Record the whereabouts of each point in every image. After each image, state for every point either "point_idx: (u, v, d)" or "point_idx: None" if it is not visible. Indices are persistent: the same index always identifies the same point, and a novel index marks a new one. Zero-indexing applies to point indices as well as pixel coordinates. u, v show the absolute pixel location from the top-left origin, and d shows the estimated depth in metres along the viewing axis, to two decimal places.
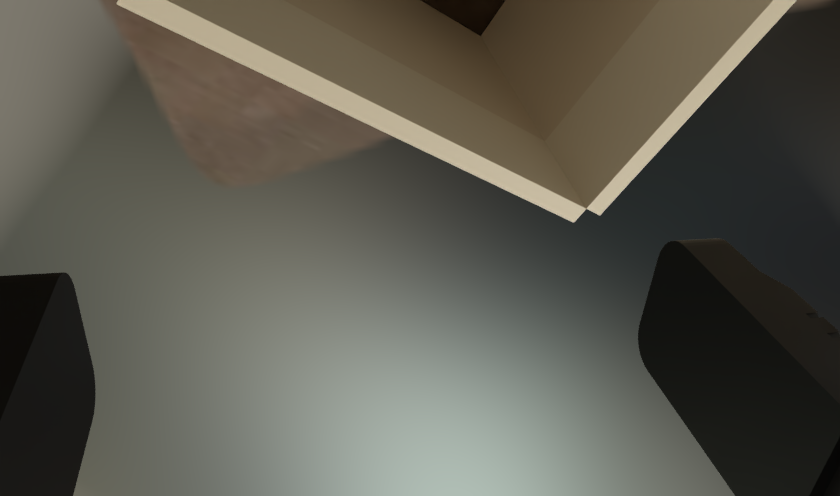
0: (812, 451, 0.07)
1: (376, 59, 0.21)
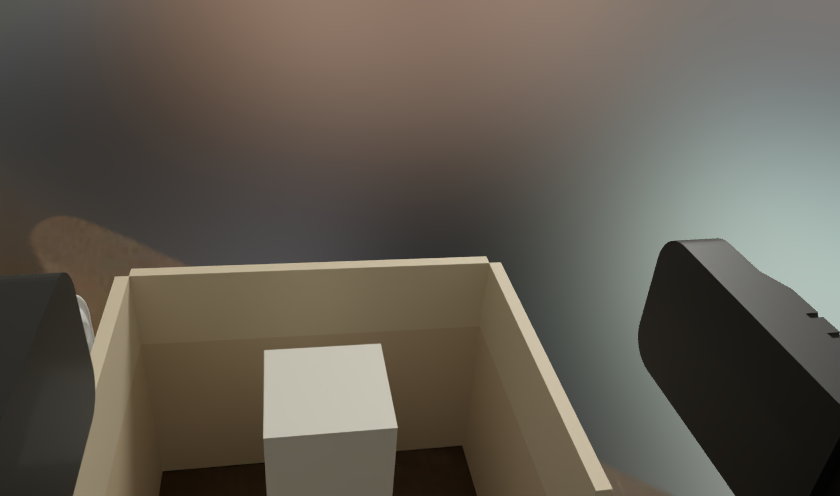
0: (812, 451, 0.07)
1: (521, 412, 0.31)
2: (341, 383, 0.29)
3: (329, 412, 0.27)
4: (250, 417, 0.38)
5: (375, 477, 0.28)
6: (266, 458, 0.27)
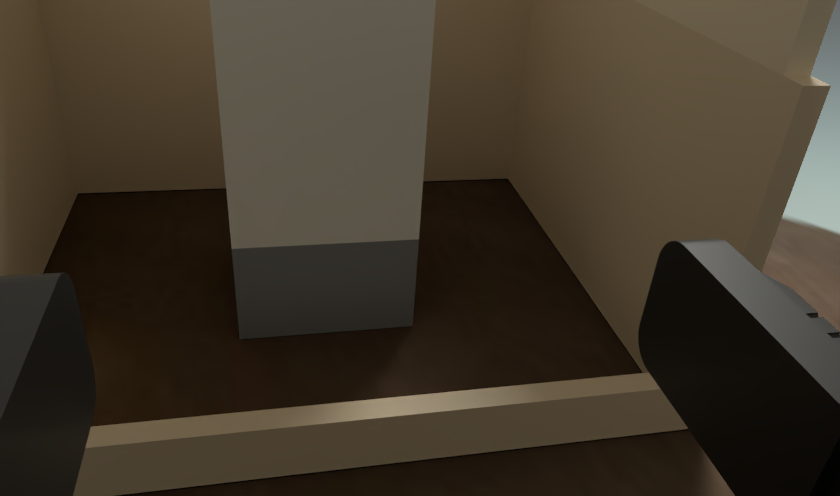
0: (812, 451, 0.07)
1: None
2: None
3: None
4: (204, 100, 0.26)
5: (403, 3, 0.16)
6: None
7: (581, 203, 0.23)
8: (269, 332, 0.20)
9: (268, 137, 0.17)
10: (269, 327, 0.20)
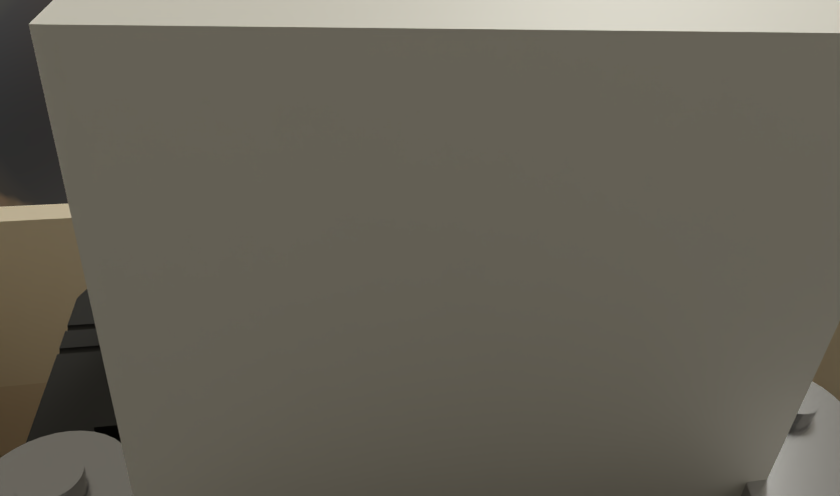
0: None
1: None
2: None
3: None
4: None
5: (722, 397, 0.05)
6: (88, 233, 0.04)
7: None
8: None
9: None
10: None
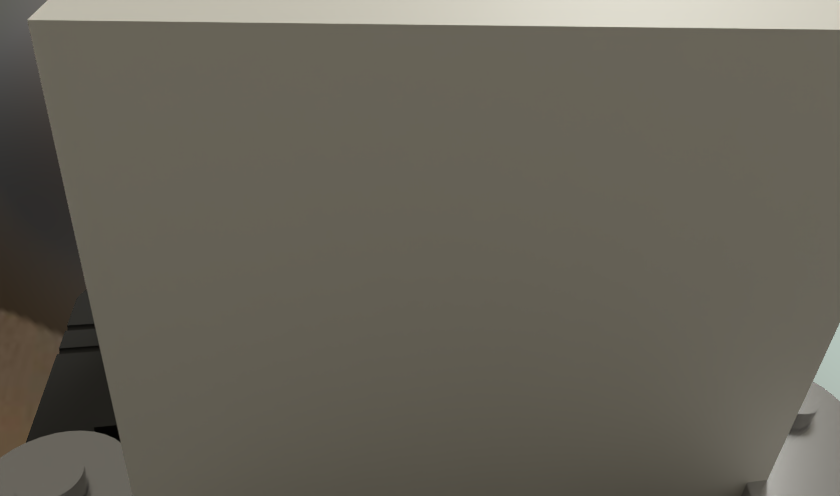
0: None
1: None
2: None
3: None
4: None
5: (722, 395, 0.05)
6: (88, 230, 0.04)
7: None
8: None
9: None
10: None
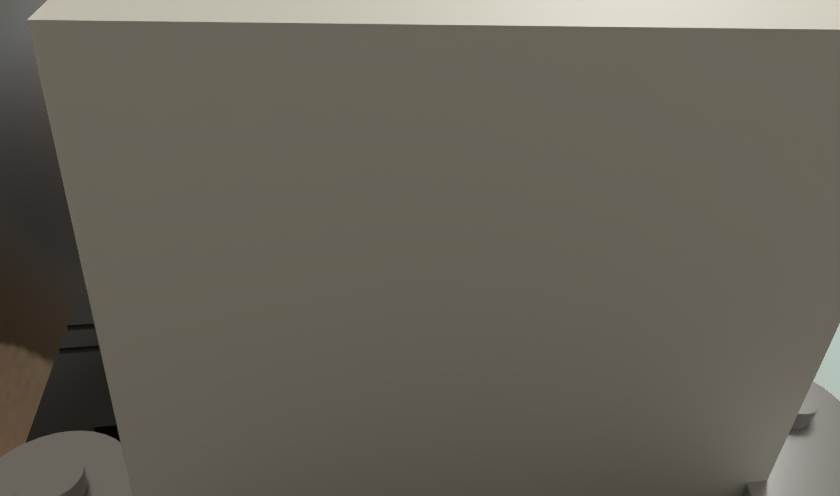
0: None
1: None
2: None
3: None
4: None
5: (722, 395, 0.05)
6: (88, 230, 0.04)
7: None
8: None
9: None
10: None
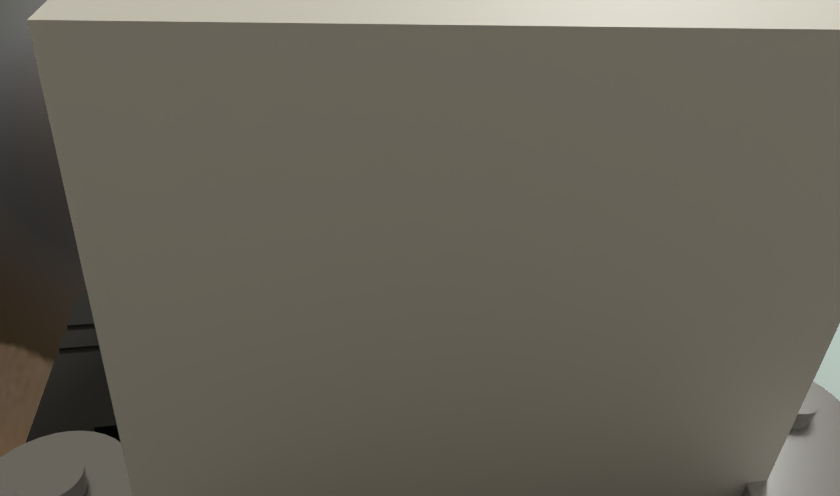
0: None
1: None
2: None
3: None
4: None
5: (722, 395, 0.05)
6: (88, 230, 0.04)
7: None
8: None
9: None
10: None
